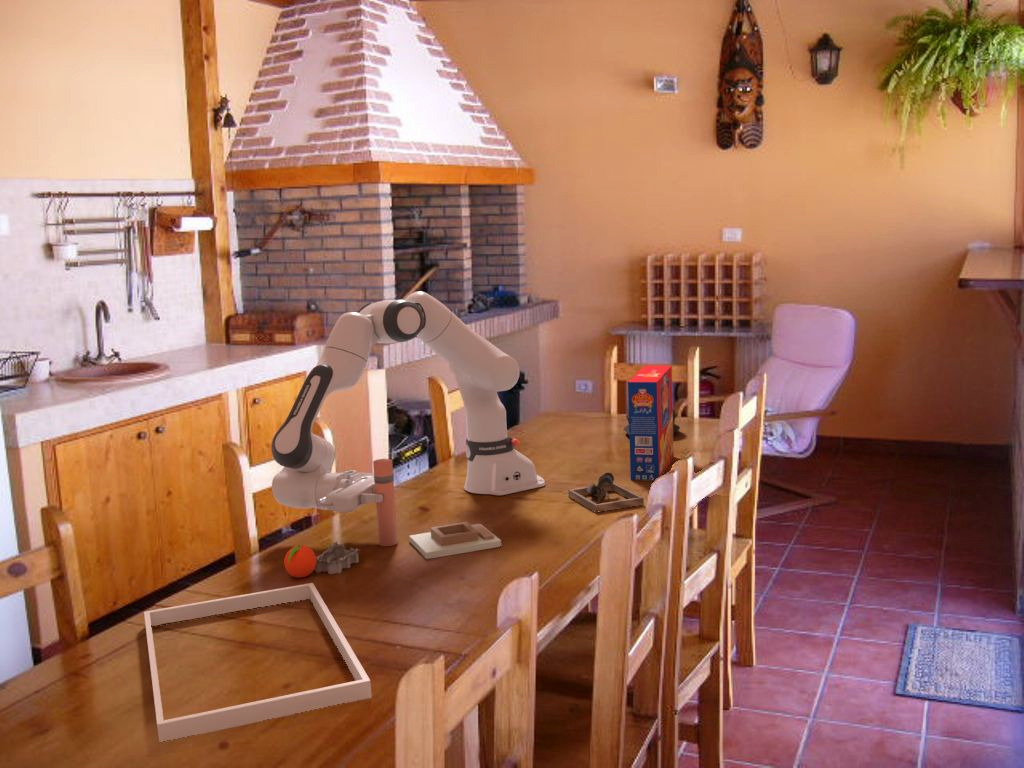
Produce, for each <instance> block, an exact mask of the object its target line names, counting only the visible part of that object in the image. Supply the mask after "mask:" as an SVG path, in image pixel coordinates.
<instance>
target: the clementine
mask: <svg viewBox="0 0 1024 768" xmlns="http://www.w3.org/2000/svg"><path fill="white" fill-rule="evenodd" d="M316 557H317V556H316V554H315V551H314V550H313V549H312V548H310V547H308V546H306V545H301V544H299V545H295V546H293V547H291V548H290V549H289V550H288V551H287V552H286V554H285V556H284V560H283V561H284V562H283V565H284V568H285V570H286V572H287V573H288V575H290V576H292V577H295V578H299V579H301V578H305V577H308V576H309V575H311V574H312V573H313V572H314V570H315V566H316V561H317V560H316Z"/></svg>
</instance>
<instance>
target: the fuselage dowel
mask: <svg viewBox="0 0 1024 768" xmlns="http://www.w3.org/2000/svg"><path fill="white" fill-rule="evenodd" d="M372 465H373V474H374V482H375V494H376V493H383V494H384V500H383V501H382V502H375V509H376V520H377V521H376V523H377V535H378V545H379V546H381V547H392V546H395V545H397V544H398V541H399V540H398V529H397V514H396V499H395V497H396V496H395V493H394V488H395V484H394V482H395V481H394V468H393V460H392V459H391V458H379V459H375V460H373V462H372Z"/></svg>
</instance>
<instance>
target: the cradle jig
mask: <svg viewBox="0 0 1024 768" xmlns="http://www.w3.org/2000/svg"><path fill="white" fill-rule="evenodd" d="M408 538H409V543H410V544H411V545H412V546H413V547H414V548H415V549H416V551H418V552H419V553H420V554H421V555H422V556H423V558H424V559H426V560H429V559H436V558H442V557H446V556H452V555H453V556H454V555H458V554H464V553H471V552H477V551H482V550H488V549H495V548H500V546H501V547H502V540H501V538H499V537H498V536H496V535H495V534H494V533H492V531H490V530H489V529H488V528H486V527H485V526H483V524H481V523H476V524H469V523H468V522H467V521H462V522H456V523H449V524H444V525H443V524H442V525H438V526H432V527H430V532H423V533H417V534H410V535H409V537H408Z"/></svg>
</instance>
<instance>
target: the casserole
mask: <svg viewBox="0 0 1024 768" xmlns="http://www.w3.org/2000/svg"><path fill="white" fill-rule="evenodd" d="M677 417H678V414H677V413H676V412H675V408H673V433H677V432H678V431H679V430H680V429H681V427H680V425H678V424H677V423H675V421H676V418H677ZM625 418H626V419H627V421H628V424H627V425H625V426H624V427H623V431H624V432H626V433H627V434H628V435H629V409H628V411H627V414H626V415H625Z"/></svg>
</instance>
